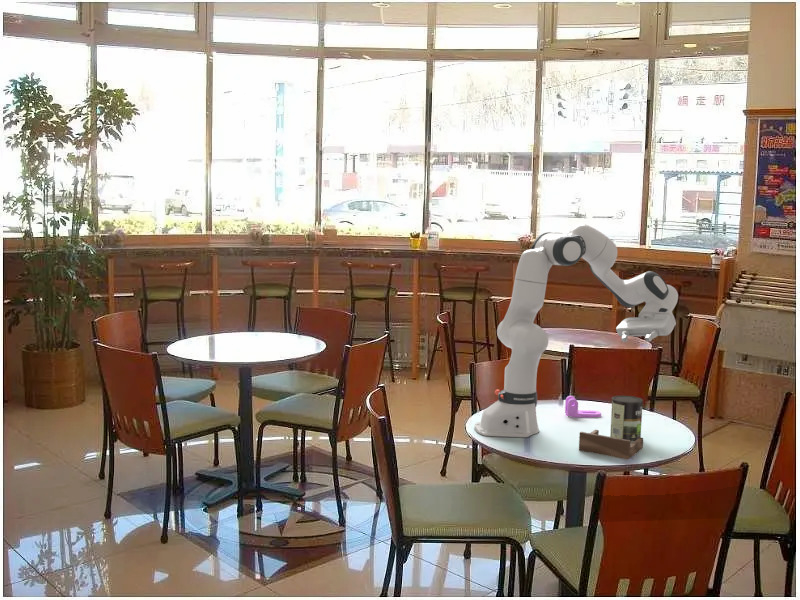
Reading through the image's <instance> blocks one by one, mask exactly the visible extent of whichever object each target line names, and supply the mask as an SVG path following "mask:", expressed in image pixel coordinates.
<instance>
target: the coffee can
mask: <svg viewBox="0 0 800 600" xmlns="http://www.w3.org/2000/svg"><path fill="white" fill-rule="evenodd" d="M643 403H644V400H643V399H642V398H641V397H637V396H633V395H615V396H611V415H610V436H609V437H614V438H620V439H625V440H631V444H632V443H633V442H634V441H636V440H637V439H638V438H642V423H643V422H642V420H643Z"/></svg>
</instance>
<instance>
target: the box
mask: <svg viewBox="0 0 800 600" xmlns="http://www.w3.org/2000/svg"><path fill="white" fill-rule="evenodd" d="M599 432H600V430H599V429H594V430H592V431H591V432H586V431H580V432H579V437H578V438H579V440H578V441H579V442H578V451H580V452H585V453H591V454H594V455H595V454H597V455H602V456H605V457H606V456H607V457H611V458H617V459H622V460H627V461H629V460H630V459H631V458H633V457H634V456H635V455H636V454H637V453H639V452H640V451H641V450H642V448H643V449H644V437H641V438H638V439H637V440H636V441H634V442H633V443H631V440H625V439H620V438H614V437H610V436H607V435H602V434H599Z"/></svg>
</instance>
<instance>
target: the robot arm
mask: <svg viewBox="0 0 800 600" xmlns="http://www.w3.org/2000/svg"><path fill="white" fill-rule="evenodd" d="M617 258H618V247H617V245H616V243H615V242H614V241H613V240H612V239H610V238H609V237H608V236H607V235H605V234H604V233H602V232H601V231H600V230H598V229H596V228H594V227H592V226H590V225H588V224H585V223H578V224H576V225H574V226H573V227H572V228H571V229H570V231H569V233H563V232H551V231H549V232H544V233H541V234H540V235H538V236H537V237H536V238H535V240H534V242H533V244H532V246H531V247H530V249H526V250H524V251H523V252H521V255H520V258H519V261H518V263H517V266H516V267H517V268H516V272H515V276H514V281H513V287H512V293H511V299H510V303H509V306H508V308H507V311H506V313H505V315H504V318H503V319H502V320H501V322H499V324H498V325H497V329H496V334H497V338H498V340H499V341H500V342H501V343H502V344H503V345H504V346H505V347H506V348H509V349H511V354H510V359H509V362H508V364H506V366H505V367H504V381H503V382H504V384H503V386H504V387H503V389H502V390H500V389H495V391H494V394H495V395H496V396H497V399H498V400H496V401H495V402H494V403H492V404H491V405H490V406H488V407H487V408H485V409H484V410H483V412H482V415H481V419H480V422H476V423H475V424H474V430H475V432H477V433H478V434H479V435H481V436H485V437H509V438H529V437H530V436H532V435H535V434H538V433H539V432H540V428H539V424H538V419H537V408H536V407H537V405H538V392H537V374H538V367H539V364H540V360H541V356H542V355H543V353H544V352H545V351H546V349H547V347H548V346H549V336H548V333H547V332H546V331H545V330H544V329H543V328H542V327H541V326H539V324H537V323H534V322H535V319H536V317H537V314H538V312H539V311H540V309H542V308H543V306H544V302H545V298H546V297H545V296H546V290H547V283H548V276H549V275H548V274H549V272H550V269H551V268H552V266H553V265H554V266H561V267H562V266H563V267H569V266H573V265H575V264H577V263H578V262H579V261H580V260H581V259H583V260H584V261H586V262H587V263H588V264H589V269H590V272H591V273H592V275H594V277H595V278H596V279H597V280H598V281H599V282H600V283H602V285H603V286H604V287H605V288H606V289H608V291H610V292H611V293H612V295H613V296H614V297H615V298H616V300H617V301H618V303H619V304H620V305H622V306H623V307H625V308H628V309H632V308H634V307H636V306H638V305H640V304H642V303H644V302H645V305H644V306H643V308H642V309H641V310H640V312H639V314H638V317H637V316H636V317H627V318H624V319H623V320H621V322H620V323H619V324H618V325H617V326H616V328H615V329H616V330H615V331H616V333H617V335H618V336H619V337H621V338H620V340H621V342H622V343H626V342H628V341H629V337H644V340H645V342H648V343H649V342H652V340H653V339H655V338H657V337H658V336H661V337H663V336H664V337H666V336H669V335H670V334H671V333H672V331H673V330H674V328H675V326H677V325H676V324H677V321H676V318H675V315H674V314H673V311H674V309H675V307H676V305H677V304H678V300H679V293H678V291H677V289H676V288H675V287H674V286H672V285H671V284H667V283H666V281H665V279H664V278H663V277H662V276H661V275H660V274H658V273H657V272H654V271H651V270H648V271H646V272H644V273H643V272H642V273H641V274H638V275H636V276H634V277H632V278H630V279H622V278H620V277H619V276H618V275H617V274H616V273H615V272H614V270H612V269H611V268H612V267H613V266H614V264H615V263H616V261H617Z"/></svg>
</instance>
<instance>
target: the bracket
mask: <svg viewBox="0 0 800 600" xmlns="http://www.w3.org/2000/svg"><path fill="white" fill-rule="evenodd" d="M564 402H565V404H564V405H565V407H564V414H565V413H566V414H565V415H566V417H567V416H572V417H571V418H592V417H598V418H601V417H602V412H601V411H598V410H589V409H587V410H586V409H585V410H583V409H579V402H578V400H577V399H576V398H575V397H574V396H573V395H568V396H567V397H566V398H565V401H564ZM600 416H601V417H600Z"/></svg>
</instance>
